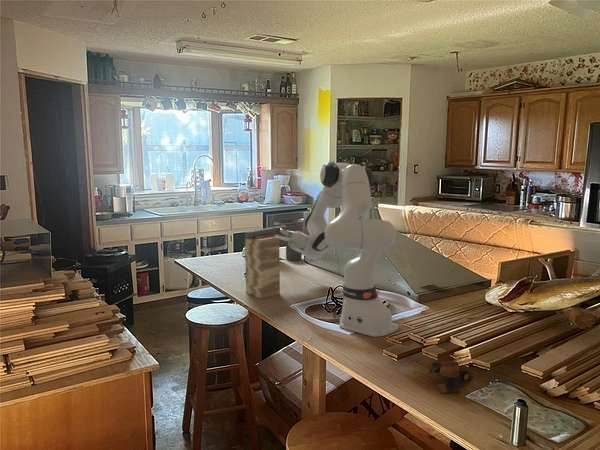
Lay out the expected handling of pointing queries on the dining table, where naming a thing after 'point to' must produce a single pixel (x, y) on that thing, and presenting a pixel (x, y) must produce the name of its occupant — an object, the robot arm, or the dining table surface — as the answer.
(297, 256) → the mug
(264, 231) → the steel block
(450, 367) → the pottery mug
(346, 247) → the robot arm
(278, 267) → the maple stand
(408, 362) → the dining table surface
